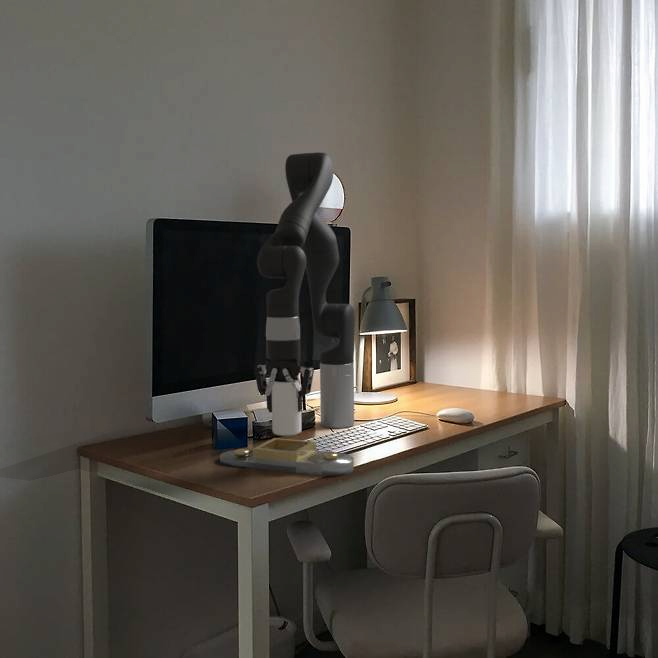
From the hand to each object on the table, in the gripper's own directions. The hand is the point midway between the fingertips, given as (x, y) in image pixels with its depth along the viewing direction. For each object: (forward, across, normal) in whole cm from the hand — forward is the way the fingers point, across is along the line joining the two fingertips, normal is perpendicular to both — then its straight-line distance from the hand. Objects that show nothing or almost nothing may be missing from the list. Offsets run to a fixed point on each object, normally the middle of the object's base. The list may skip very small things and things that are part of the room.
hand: (284, 412), depth 172 cm
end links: (+12, 0, 0) cm, 12 cm away
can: (+5, 0, 0) cm, 5 cm away
